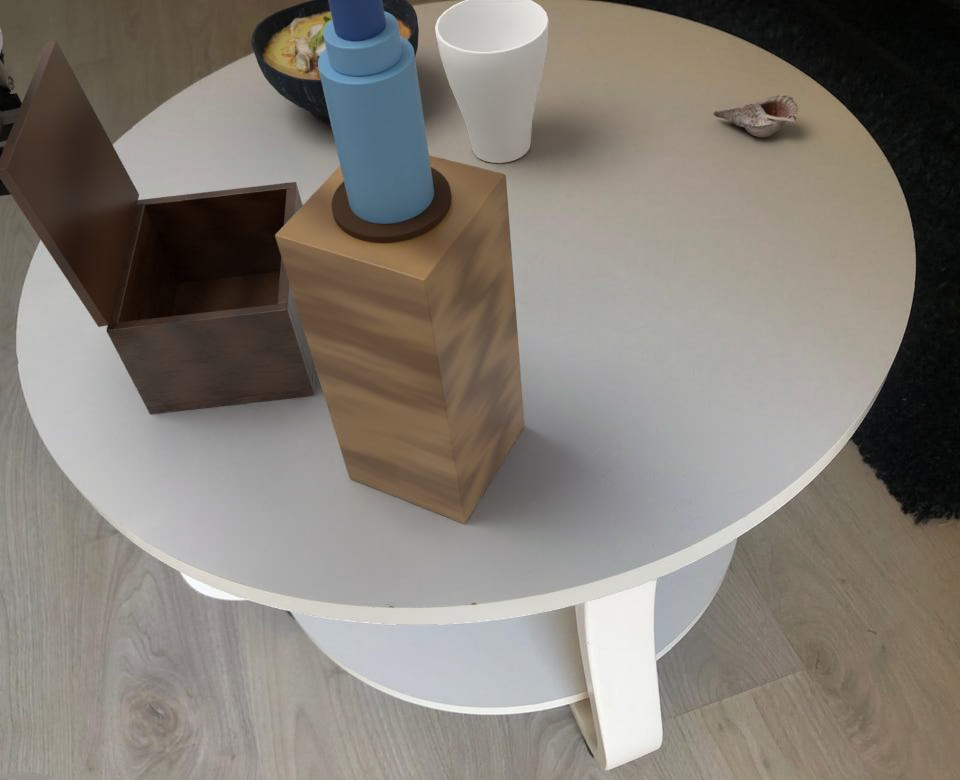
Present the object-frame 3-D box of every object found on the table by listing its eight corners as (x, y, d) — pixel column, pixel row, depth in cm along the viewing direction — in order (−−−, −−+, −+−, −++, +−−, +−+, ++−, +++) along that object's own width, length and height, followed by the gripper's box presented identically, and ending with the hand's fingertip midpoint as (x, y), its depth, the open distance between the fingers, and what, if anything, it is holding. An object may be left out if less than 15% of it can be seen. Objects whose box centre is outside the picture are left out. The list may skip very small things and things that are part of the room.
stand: (465, 524, 72) (424, 280, 54) (348, 478, 75) (274, 235, 57) (524, 425, 77) (506, 173, 59) (414, 387, 81) (364, 138, 63)
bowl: (272, 73, 114) (250, -10, 106) (420, 52, 114) (408, -33, 107) (271, 161, 103) (246, 75, 95) (435, 137, 103) (423, 49, 96)
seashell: (787, 144, 100) (777, 156, 97) (716, 111, 102) (705, 122, 99) (807, 103, 97) (798, 114, 94) (734, 70, 99) (723, 80, 96)
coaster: (414, 255, 55) (413, 249, 55) (309, 225, 57) (308, 218, 57) (472, 182, 59) (471, 175, 58) (372, 157, 61) (371, 150, 61)
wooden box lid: (56, 40, 73) (-14, 54, 73) (6, 168, 63) (-74, 184, 63) (139, 194, 84) (78, 206, 84) (108, 325, 73) (39, 338, 74)
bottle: (407, 233, 56) (369, 15, 46) (332, 212, 57) (280, -2, 47) (449, 181, 58) (422, -35, 48) (377, 162, 60) (336, -49, 50)
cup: (572, 153, 99) (570, 28, 89) (480, 190, 97) (467, 66, 87) (520, 104, 106) (513, -17, 96) (432, 138, 103) (415, 16, 93)
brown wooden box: (319, 267, 91) (296, 181, 84) (314, 395, 81) (287, 310, 74) (173, 284, 91) (136, 199, 84) (149, 414, 81) (105, 330, 74)
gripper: (-143, -138, 64) (-14, 108, 77) (-250, -9, 52) (-77, 252, 66) (-27, -152, 64) (82, 97, 77) (-110, -25, 52) (34, 239, 66)
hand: (7, 166), depth 72 cm, fingers closed on wooden box lid, 5 cm apart
